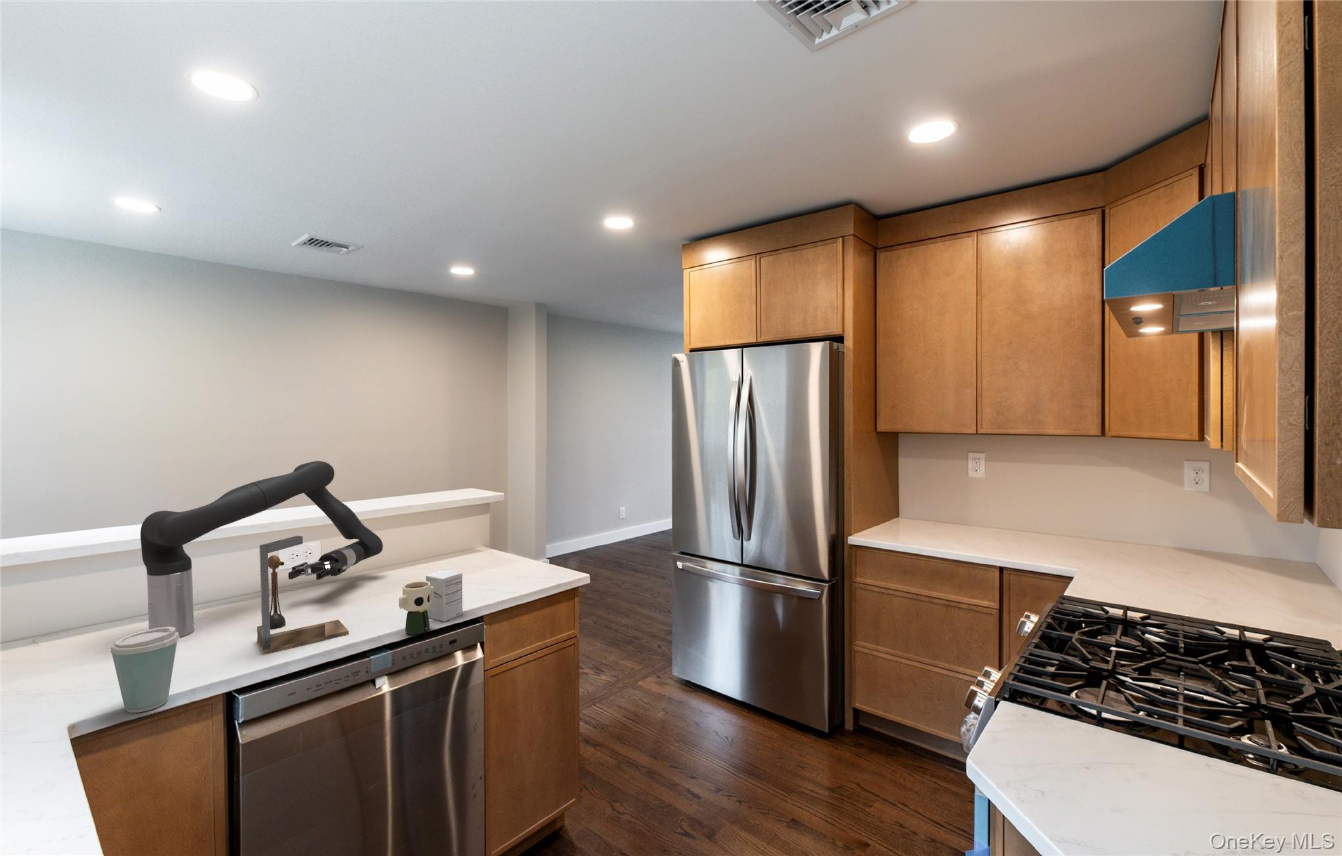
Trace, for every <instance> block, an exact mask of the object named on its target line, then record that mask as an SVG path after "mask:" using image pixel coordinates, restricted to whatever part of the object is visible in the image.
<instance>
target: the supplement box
mask: <svg viewBox="0 0 1342 856" xmlns="http://www.w3.org/2000/svg"><path fill="white" fill-rule="evenodd" d="M425 581H427V582H430V584H431V586H433V587H434V597H433V598H431V600H432V601H431V605H430V606H429V608H427V609H426V610H427V612H428V617H429V619H432V620H435V621H440V622H443V623H445V622H446V621H449V620H452V619H455V618H458V617H459V616H462V615H463V572H459V571H454V570H450V569H442V570H439V571H435V572H432V573H430V574H426V575H425Z"/></svg>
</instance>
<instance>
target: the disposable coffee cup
mask: <svg viewBox="0 0 1342 856" xmlns="http://www.w3.org/2000/svg"><path fill="white" fill-rule="evenodd" d="M180 638H181V637H179V633H178V632H176V628H175V627H161V628H155V629H150V630H149V629H145V630H141V631H139V632H135V633H131V634H127V635H125V636H124V637H121V638H119V639H117V640H116V641H115V642H114V643H113V644H112V645H111V647H110V653H111V656H112V660H113V664H114V669H115V673H116V676H117V682H118V686H119V691H120V694H121V698H122V703H123V706H124V708H125V709H126V712H128V713H132V714H133V713H142V712H148V711H151V710H154V709H157V708H159V707H161V706H162V705H165V704H166V703H167V701H168V698H169V696H170V690H171V682H172V677H173V670H174V663H175V657H176V650H177V646H178V641H179V640H180Z"/></svg>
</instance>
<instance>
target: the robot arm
mask: <svg viewBox="0 0 1342 856" xmlns="http://www.w3.org/2000/svg"><path fill="white" fill-rule="evenodd" d="M334 478H335V469H334V467H333V466H332V465H331V464H330V463H329V462H326V461H322V460H315V461H310V462H305V463H302V464H300V465H298V466H296V467H295V468H294V469H293V471H291V472H290V473H286V474H282V475H276V476H272V477H268V478H264V479H260V480H256V481H252V482H249V483H247V484H243V485H241V486H237V487H236V488H233V489H230V490H228V491H227V492H225V493H224V494H222V495H221V496H220V497H218V498H217V499H215V500H214V501H212V502H210V503H208V504H206V505H202V506H199V507H195V508H193V509H189V510H184V511H174V510H173V511H172V510H158V511H155V512H152V513H151V514H149V515H148V516H146V517H145V518H144V520H143V522H142V523H141V526H140V534H139V535H140V548H141V558H142V563H143V565H144V566H145V568H146V579H147V580H146V581H147V587H146V588H147V611H148V612H147V613H148V617H147V618H148V630H150V629H155V628H161V627H175V628H176V632H178V633H179V637H180V638H181V637H182V638H183V637H184V636H187V635H190V634H191V633H193V632H194V631H195V618H194V617H195V616H194V614H195V613H194V591H193V588H194V587H193V563H192V561H193V560H192V558H191V557H190V556H189V555H188V554H187V553H186V550H185V548H184V545H186V544H189V543H191V542H192V541H195V540H197V539H198V538H200V537H202V536H204V535H206V534H208V533H211V532H212V531H214V530H215V531H216V529H219V528H221V527H224V526H228V525H230V524H232V523H235V522H238V521H241V520H243V519H246V518H248V517H249V518H250V517H251V516H254V515H256V514H259V513H262V512H264V511H266V510H270V509H271V508H274V507H276V506H278V505H280V504H282V503H284V502H286V501H288V500H290V499H292V498H294V497H297V496H299V495H302V494H304V495H305V496H306V497H307V498H308V499H309V500H310V501H311V502H313V503H314V505H315V506H317V508H318V509H320V510H321V512H323V513H324V514H325V515H326V517H327V518H328V519H329V520H330V521H331V522H332V524H333V525H334V526H335V528H336V529H337V530H338V531H339V533H340V534H341V536H342V537H343V538H344V539H345V540H348V541H350V540H357V541H354V542H352V543H350V544H347V545H345V546H343V547H339V548H335V549H334V550H330V551H329V552H326V553H323V554H322V555H321V556H320V557H319V559H318V560H316V561H314V562H311V563H308V561H304V562H302V563H299V564H297V565H295V566H292V567H291V571H289V572H288V575H287V576H288V579H289V580H294V579H297V578H298V577H300V576H301V577H302V576H306V577H309V576H314V575H315V579H316V581H320V580H322V579H324V578H326V577H327V578H330V577H337V576H339V575H341V574H343V573H345V572H347V570H348V569H350V568H351V567H353V566H356V565H357V564H359V563H360V562H363V561H365V560H368V559H369V558H372V557H375V556H377V555H379V554H381V553H382V552H383V549H384V544H383V541H382V539H381V537H380V536H378V535H377V534H376V533H375V532H374V531H372V530H371V529H369V527H367V526H365V524H364V523H362V521H361V519H359V517H358V516H357V515H356V513H355V512H354V510H352V509H351V508H350V507H349V506H348V505H346V504H345V503H343V502H342V501H341V500H339V499H338V498H337V497H335V496H334V495H333V494H332V492H330V491H329V490H328V488H327V487H328V486H329V485H330V484H331V483H332V482H333V480H334ZM309 570H310V572H309Z"/></svg>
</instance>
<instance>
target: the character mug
mask: <svg viewBox="0 0 1342 856" xmlns="http://www.w3.org/2000/svg"><path fill="white" fill-rule="evenodd" d="M433 597H434V587H433V586H431V584H430V582H427V581H426V580H417V581H410V582H407V583H405V584H403V585H402V595H401V596H399V597H398V607H399V609H401V610H404V611H406V617H405V629H404V632H406V633H407V634H410V635H419V634H423V633H424V632H425V629H426V632H429V630H431V629H430V628H431V625H430V618H429V617H428V612H427V610H426V609H427V608H429V606H430V605H431V601H432V600H431V598H433Z"/></svg>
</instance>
